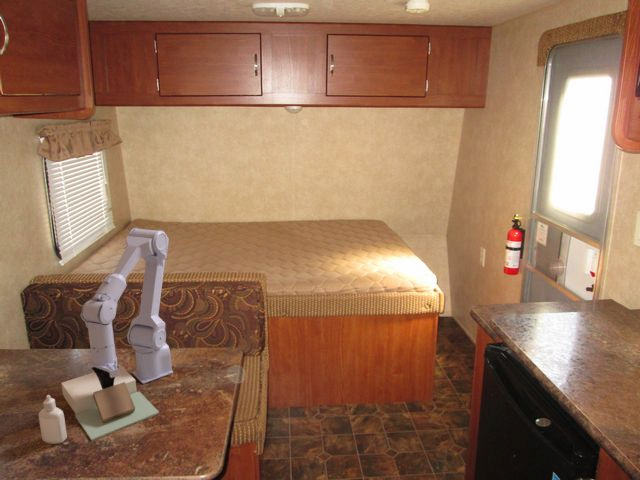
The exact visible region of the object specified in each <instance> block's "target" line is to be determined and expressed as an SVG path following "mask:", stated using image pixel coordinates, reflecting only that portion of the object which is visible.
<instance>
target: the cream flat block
mask: <svg viewBox="0 0 640 480" xmlns="http://www.w3.org/2000/svg"><path fill="white" fill-rule="evenodd" d="M117 366H118V367H119V369H118V371H119V376H116V377H115V379H114V385H117V384H120V383H123V382H125V384H126V386H127V389H128V391H129V394H130V395H131V394H133V393H136V392H138V391H137V382H136V381H137V380H136V379H135V378H134V377H133V375H131V374H130V372H129V371H127V369H125V367H124V366H123V365H121V364H120V363H119V364H118V363H117ZM61 389H62V390H61V392H62V396H63V398H64V399H65V400H66V402H67V403H68V405H69V407H70V408H71V409H72V411H73V412H74V414H75V415H76V414H79V413H82V412H85V411H87V410H90V409H93V408H95V407H97V406H96V404H95V401H94V398H93V392H96V391H99V390H102V387H101V384H100V382H99V379H98V377H97V375H96V373H95V372H94V371H92V372H91V373H87V374H85V375H81V376H78V377H76V378H72V379H69V380H66V381H63V382H61Z"/></svg>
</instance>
